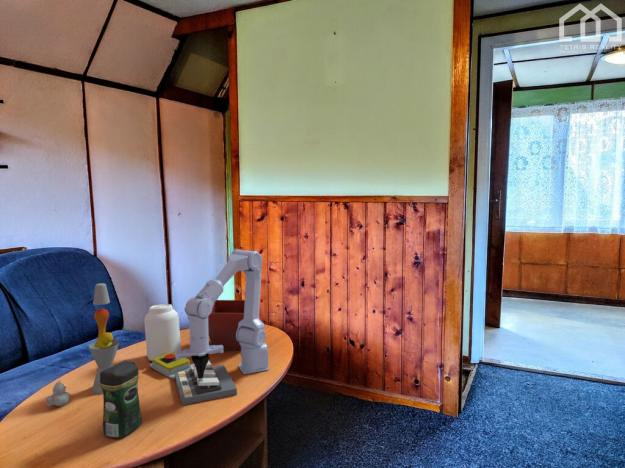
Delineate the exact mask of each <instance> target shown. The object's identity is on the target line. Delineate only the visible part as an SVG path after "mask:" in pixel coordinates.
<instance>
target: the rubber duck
mask: <svg viewBox="0 0 625 468" xmlns="http://www.w3.org/2000/svg"><path fill="white" fill-rule="evenodd" d="M66 389H67V386H65V385H64V383H61V380H59V381H57V382H56V383H55V384H54V386H53V387H52V394H50V395H49V396H47V397H46V398H45V402H46V405H47V406H52V405H53V406H55V407H61V406H64V405H66V404H67V403H68V402H69V400H70V397H71V396H70V393H69V392H67V391H66Z"/></svg>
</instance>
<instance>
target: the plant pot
mask: <svg viewBox="0 0 625 468" xmlns="http://www.w3.org/2000/svg"><path fill="white" fill-rule="evenodd" d="M244 306H245V299H241V300H240V299H217V300H216V301H215V302H214V305H213V307H212V312H211V314H210V315H209V316H208V332H209V340H210V341H209V342H210V343H211V346H213V345H222V346H223V351H241V345H239V341H237V339H236V332H237V329H238V323H239V322H240V321H241V320H243V319H244Z"/></svg>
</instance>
